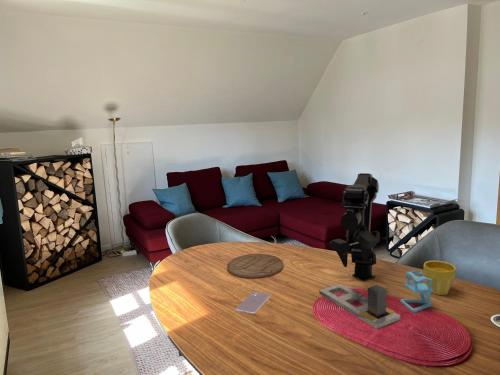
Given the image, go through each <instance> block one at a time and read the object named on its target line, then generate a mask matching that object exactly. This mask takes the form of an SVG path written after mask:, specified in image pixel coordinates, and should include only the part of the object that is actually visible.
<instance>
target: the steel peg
mask: <svg viewBox="0 0 500 375" xmlns="http://www.w3.org/2000/svg"><path fill="white" fill-rule="evenodd" d="M367 298H368V314H370V315H372V316H374V317H375V318H377V319H379V318H382V317H384V316H386V307H387V288H385V287H383V286H380V285H378V284H375V285H372V286H369V287H367Z"/></svg>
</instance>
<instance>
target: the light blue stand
mask: <svg viewBox="0 0 500 375" xmlns="http://www.w3.org/2000/svg"><path fill="white" fill-rule="evenodd" d="M423 274H424V272H420V271H416V270H410V271H409V272H406V273H405V278H406V282H404V283H403V286H404V287H406V288H407V289H408V290H409V291H411V292H412V293H413V294H415V295H416V294H418V295H419V296H420V298H421V299H413V298H411V299H410V298H409V299H408V298H401V299H400V303H401V304H402V305H403V304H404V305H403V306H404V307H406V308H407V310H409V311H410V312H412V313H413V312H414V313H417V312H421V311H422V310H425V309H427V308H430V307H432V302H431V301H432V300H431V298H432V297H431V294H432V293H431V292H433V289H432V288H431V287H430V284H431V282H432V279H430V278H427V277H426V276H424V275H423ZM417 275H419V276H417ZM410 279H411V280H412V281H413V282H410ZM427 281H429V283H428V286H427V283H425V282H427ZM408 303H409V304H411V303H412V304H422V305H420V306H418V307H415V308H413V307H412V306H410V305H409V304H408Z"/></svg>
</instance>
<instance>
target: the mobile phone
mask: <svg viewBox="0 0 500 375" xmlns="http://www.w3.org/2000/svg"><path fill="white" fill-rule="evenodd" d="M270 297H271V293H267V292H262V291H261V292H260V291H255V290H254V291H252V292H251V293H250V294H249V295H248V296H247V297H246V298H245V299H244V300H242V302H241V303H240V304H239V305H238V306H237V307H236V308H235V310H236V311H237V312H241V313H247V314H251V315H252V314H256V313H257V312H258V311H259V310H260V309H261V307H263V305H265V303H266V302H267V301H268V300H269V299H270Z"/></svg>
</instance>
